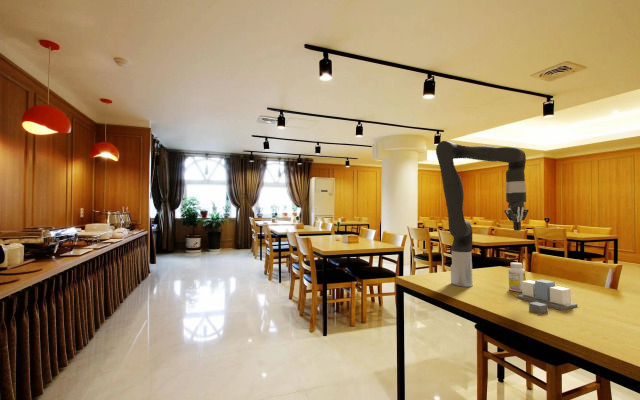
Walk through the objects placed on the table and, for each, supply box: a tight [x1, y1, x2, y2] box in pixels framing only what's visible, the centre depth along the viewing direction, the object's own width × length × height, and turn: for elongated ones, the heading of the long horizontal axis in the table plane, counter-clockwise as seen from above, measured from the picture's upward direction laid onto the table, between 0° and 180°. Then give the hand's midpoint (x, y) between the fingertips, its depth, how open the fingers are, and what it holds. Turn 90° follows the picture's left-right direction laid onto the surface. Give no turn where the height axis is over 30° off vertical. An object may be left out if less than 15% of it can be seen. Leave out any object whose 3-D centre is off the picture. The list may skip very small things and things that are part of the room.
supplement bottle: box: [507, 261, 527, 293], centre depth 136 cm, size 7×7×13 cm
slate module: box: [534, 279, 556, 301], centre depth 119 cm, size 4×5×7 cm
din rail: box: [516, 279, 579, 311], centre depth 119 cm, size 17×10×7 cm, turn 20°
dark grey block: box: [528, 301, 549, 315], centre depth 109 cm, size 4×4×3 cm
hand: (517, 230), depth 129 cm, fingers closed
